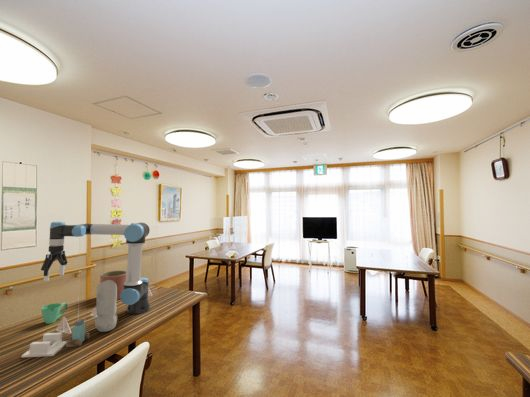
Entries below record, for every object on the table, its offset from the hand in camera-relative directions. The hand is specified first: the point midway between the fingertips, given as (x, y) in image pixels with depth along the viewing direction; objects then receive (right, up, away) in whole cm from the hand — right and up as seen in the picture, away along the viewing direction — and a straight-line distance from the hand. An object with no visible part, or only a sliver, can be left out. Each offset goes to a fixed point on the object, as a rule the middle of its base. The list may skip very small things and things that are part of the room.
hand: (54, 277), depth 159 cm
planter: (+13, -30, +41) cm, 52 cm away
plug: (+35, -28, -24) cm, 51 cm away
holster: (+35, -28, -24) cm, 51 cm away
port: (+24, -27, -32) cm, 48 cm away
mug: (+1, -28, -1) cm, 28 cm away
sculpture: (+41, -29, -10) cm, 51 cm away
